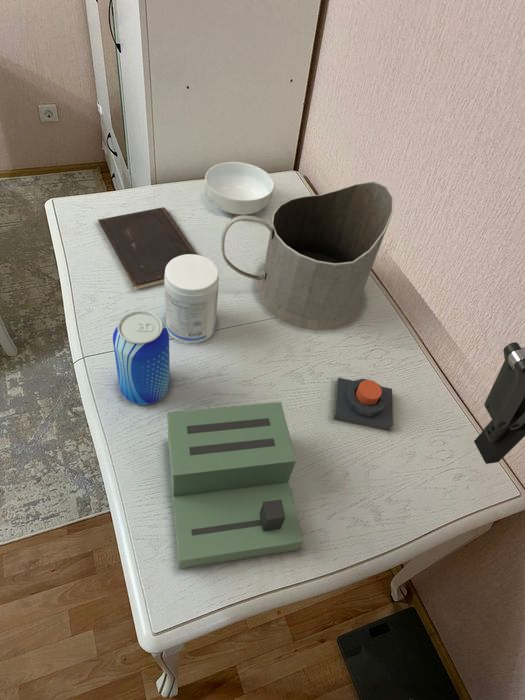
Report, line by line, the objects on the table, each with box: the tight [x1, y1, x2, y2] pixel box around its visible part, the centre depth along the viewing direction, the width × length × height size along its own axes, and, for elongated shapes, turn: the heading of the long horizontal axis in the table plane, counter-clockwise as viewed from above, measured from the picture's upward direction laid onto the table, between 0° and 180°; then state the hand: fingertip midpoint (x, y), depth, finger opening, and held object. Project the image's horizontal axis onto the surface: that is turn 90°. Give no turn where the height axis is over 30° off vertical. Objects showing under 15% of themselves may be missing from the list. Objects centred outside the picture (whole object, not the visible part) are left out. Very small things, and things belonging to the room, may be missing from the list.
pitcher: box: [220, 181, 394, 332], centre depth 98 cm, size 23×32×25 cm
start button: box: [356, 379, 382, 406], centre depth 87 cm, size 4×4×2 cm
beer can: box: [112, 310, 171, 406], centre depth 81 cm, size 8×8×16 cm
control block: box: [332, 377, 394, 432], centre depth 89 cm, size 8×10×4 cm
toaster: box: [167, 401, 304, 570], centre depth 72 cm, size 19×17×11 cm
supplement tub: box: [164, 254, 220, 344], centre depth 92 cm, size 10×10×15 cm
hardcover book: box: [97, 206, 198, 290], centre depth 110 cm, size 16×23×2 cm
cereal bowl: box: [204, 161, 275, 216], centre depth 124 cm, size 17×17×7 cm
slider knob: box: [260, 500, 285, 531], centre depth 69 cm, size 3×3×4 cm
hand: (485, 451), depth 53 cm, fingers closed
